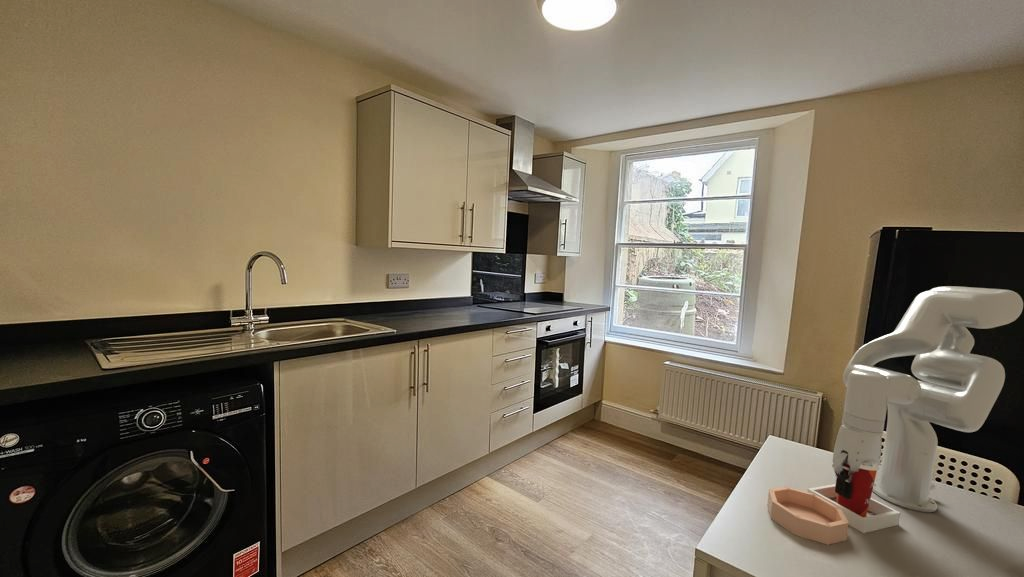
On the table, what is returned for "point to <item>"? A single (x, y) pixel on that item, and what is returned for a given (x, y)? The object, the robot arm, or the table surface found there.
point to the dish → (807, 515)
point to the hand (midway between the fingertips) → (852, 493)
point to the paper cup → (860, 488)
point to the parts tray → (879, 521)
